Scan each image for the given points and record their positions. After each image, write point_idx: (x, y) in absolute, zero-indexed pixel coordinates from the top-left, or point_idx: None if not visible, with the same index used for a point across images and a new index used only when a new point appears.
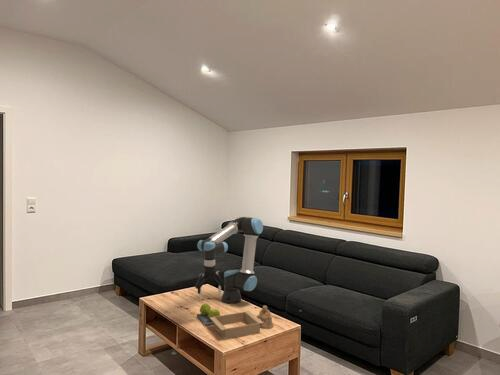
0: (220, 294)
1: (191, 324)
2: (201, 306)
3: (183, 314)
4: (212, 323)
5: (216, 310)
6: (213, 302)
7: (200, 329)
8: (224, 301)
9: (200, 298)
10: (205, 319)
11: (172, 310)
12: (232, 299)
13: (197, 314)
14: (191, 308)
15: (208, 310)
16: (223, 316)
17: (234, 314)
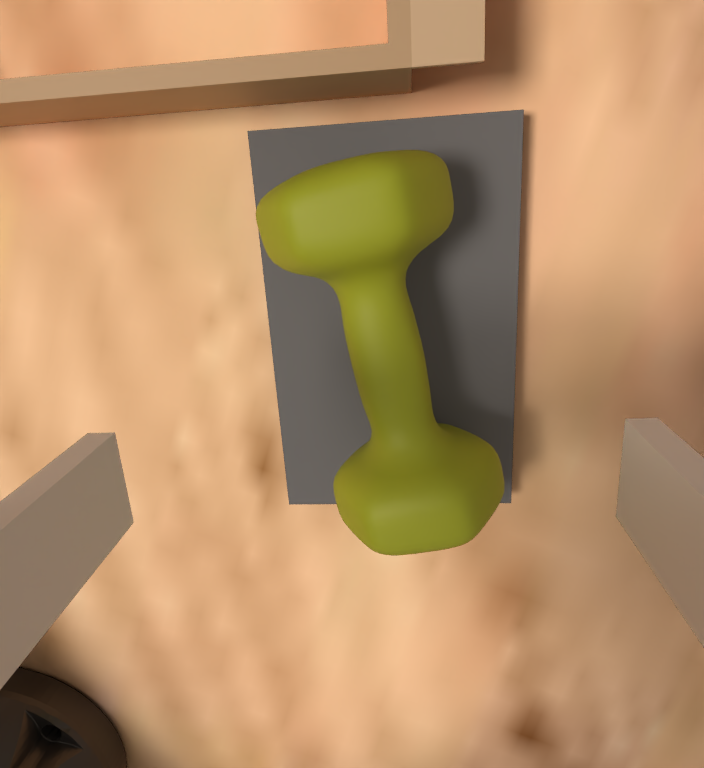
0: (82, 447)
1: (669, 266)
2: (483, 512)
3: (632, 598)
4: (415, 118)
5: (312, 184)
6: (217, 762)
7: (625, 31)
8: (102, 728)
9: (662, 423)
10: (465, 293)
11: (700, 738)
12: (2, 709)
13: (507, 493)
14: (484, 712)
15: (407, 370)
16: (229, 62)
17: (32, 78)
